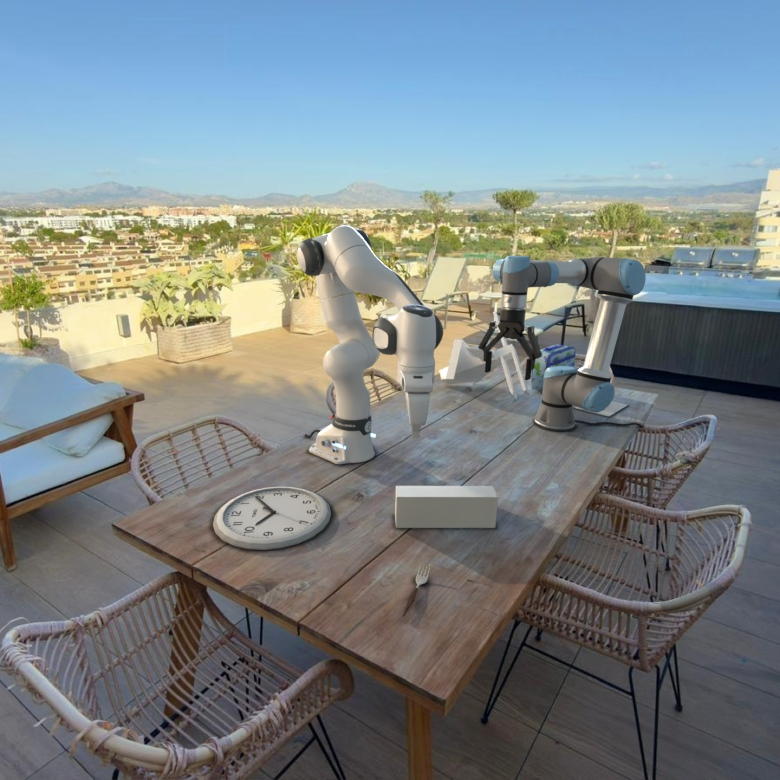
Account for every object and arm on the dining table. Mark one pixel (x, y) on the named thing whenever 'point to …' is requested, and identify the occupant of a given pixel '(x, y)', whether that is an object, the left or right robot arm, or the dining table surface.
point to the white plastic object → (480, 363)
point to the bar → (446, 507)
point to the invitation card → (609, 408)
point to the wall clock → (272, 518)
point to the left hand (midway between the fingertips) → (414, 429)
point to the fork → (419, 580)
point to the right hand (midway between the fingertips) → (507, 375)
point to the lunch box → (551, 362)
